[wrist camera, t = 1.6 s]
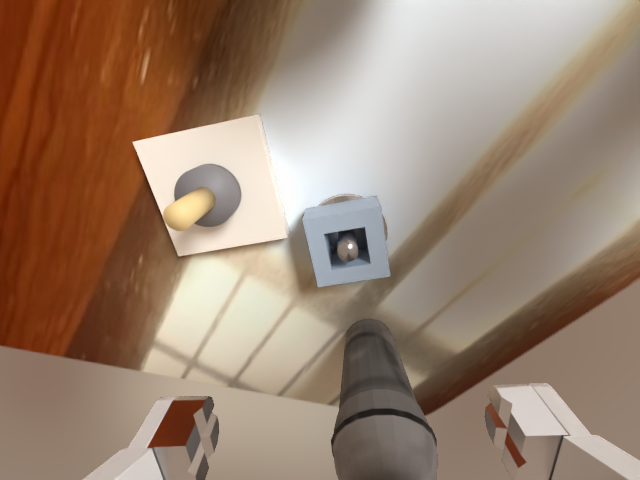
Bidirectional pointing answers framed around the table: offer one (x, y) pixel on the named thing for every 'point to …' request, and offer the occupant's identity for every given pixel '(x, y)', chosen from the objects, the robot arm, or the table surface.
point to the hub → (215, 185)
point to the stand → (348, 234)
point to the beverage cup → (379, 413)
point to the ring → (339, 219)
